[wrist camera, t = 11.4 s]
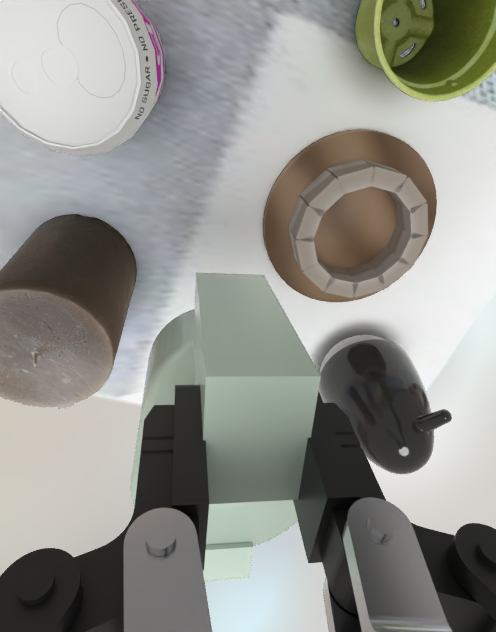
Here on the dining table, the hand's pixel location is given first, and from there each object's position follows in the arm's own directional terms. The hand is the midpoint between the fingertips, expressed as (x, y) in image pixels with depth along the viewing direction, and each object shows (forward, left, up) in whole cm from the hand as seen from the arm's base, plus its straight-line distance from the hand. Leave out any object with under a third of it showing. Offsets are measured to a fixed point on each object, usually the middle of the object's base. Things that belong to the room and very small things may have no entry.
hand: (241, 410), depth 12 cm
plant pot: (-18, +3, -29) cm, 34 cm away
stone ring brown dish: (-6, +13, -29) cm, 32 cm away
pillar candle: (+14, -2, -29) cm, 33 cm away
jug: (+4, +3, -9) cm, 10 cm away
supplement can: (-1, -10, -29) cm, 31 cm away
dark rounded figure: (+3, +26, -29) cm, 40 cm away
